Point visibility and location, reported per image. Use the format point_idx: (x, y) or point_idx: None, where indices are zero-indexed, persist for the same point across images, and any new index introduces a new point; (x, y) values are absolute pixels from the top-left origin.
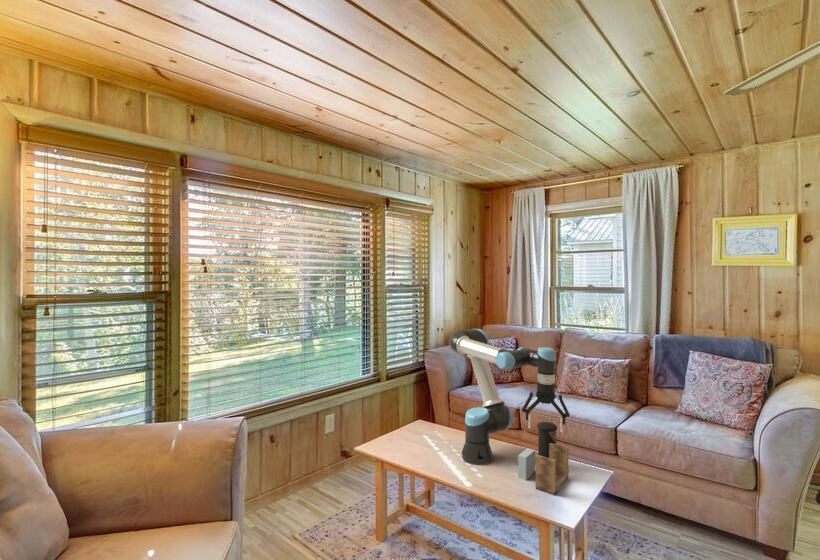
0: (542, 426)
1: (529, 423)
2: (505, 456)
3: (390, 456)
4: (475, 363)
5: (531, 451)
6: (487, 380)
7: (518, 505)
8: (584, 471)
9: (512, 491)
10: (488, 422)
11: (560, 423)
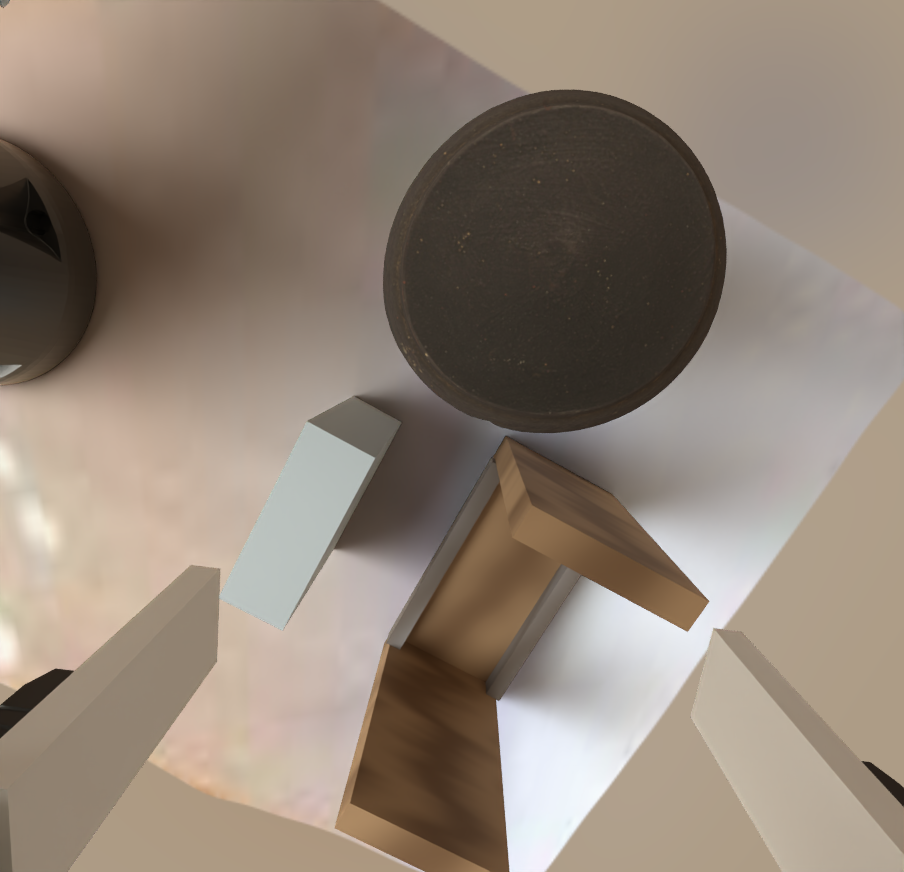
0: (457, 383)
1: (159, 722)
2: (190, 191)
3: None
4: None
5: (340, 495)
6: None
7: (282, 807)
8: (762, 355)
9: (251, 686)
10: None
11: (780, 837)
